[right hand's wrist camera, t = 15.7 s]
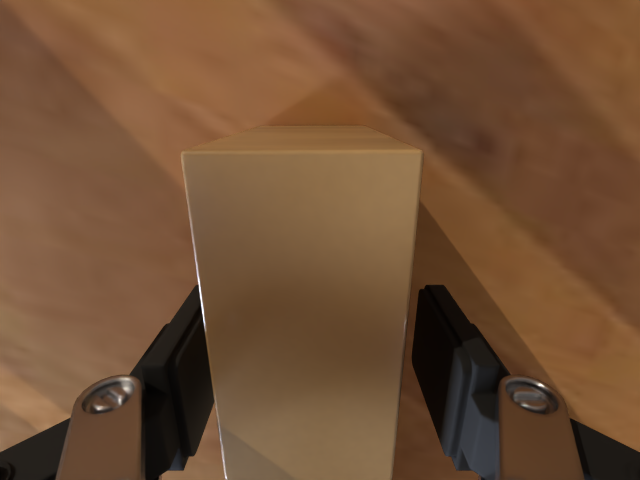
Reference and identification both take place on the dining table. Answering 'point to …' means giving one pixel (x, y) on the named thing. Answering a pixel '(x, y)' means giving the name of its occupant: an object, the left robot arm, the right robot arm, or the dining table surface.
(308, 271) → the post
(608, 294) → the dining table surface
